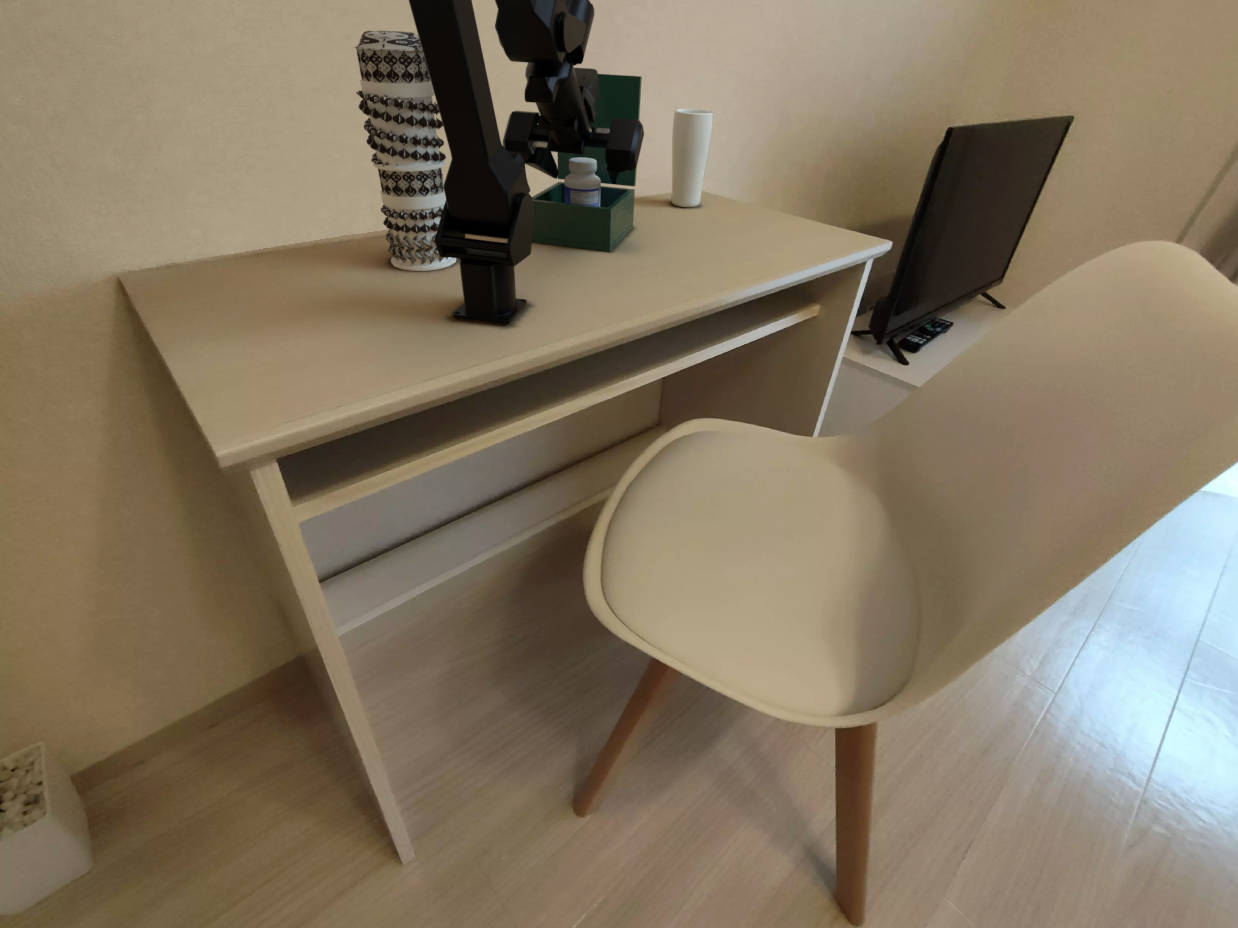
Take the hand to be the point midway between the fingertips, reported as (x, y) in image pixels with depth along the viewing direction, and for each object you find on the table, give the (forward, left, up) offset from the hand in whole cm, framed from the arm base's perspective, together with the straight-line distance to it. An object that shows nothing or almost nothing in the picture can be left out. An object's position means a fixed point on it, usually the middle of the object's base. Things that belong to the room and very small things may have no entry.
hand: (585, 178), depth 91 cm
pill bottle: (-2, 0, -7) cm, 7 cm away
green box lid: (+5, 0, +6) cm, 8 cm away
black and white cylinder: (-20, +17, -8) cm, 28 cm away
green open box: (-1, 0, -8) cm, 8 cm away
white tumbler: (+24, -13, -8) cm, 28 cm away
